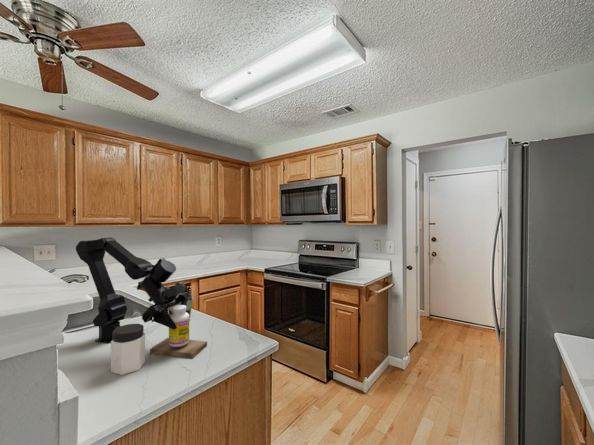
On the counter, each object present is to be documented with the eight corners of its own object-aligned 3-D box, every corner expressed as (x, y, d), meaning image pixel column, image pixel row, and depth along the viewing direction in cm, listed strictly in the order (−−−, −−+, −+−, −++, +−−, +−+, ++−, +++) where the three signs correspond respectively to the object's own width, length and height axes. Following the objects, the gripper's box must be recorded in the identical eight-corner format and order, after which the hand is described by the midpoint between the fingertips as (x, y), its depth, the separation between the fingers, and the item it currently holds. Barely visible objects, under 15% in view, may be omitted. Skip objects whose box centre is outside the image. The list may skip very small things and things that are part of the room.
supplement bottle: (178, 349, 92) (178, 311, 91) (164, 345, 95) (164, 308, 94) (193, 341, 98) (193, 305, 97) (180, 337, 101) (179, 302, 100)
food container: (197, 313, 133) (197, 292, 133) (192, 317, 127) (192, 296, 126) (171, 313, 132) (171, 292, 132) (165, 318, 126) (165, 296, 126)
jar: (105, 371, 82) (105, 331, 82) (130, 358, 90) (130, 321, 90) (126, 377, 79) (126, 336, 79) (150, 363, 86) (150, 325, 86)
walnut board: (150, 353, 93) (150, 349, 93) (167, 341, 102) (167, 337, 102) (193, 358, 90) (193, 353, 90) (207, 345, 99) (207, 341, 99)
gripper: (149, 281, 88) (178, 320, 85) (187, 271, 106) (212, 302, 103) (129, 303, 90) (157, 341, 87) (169, 289, 108) (193, 320, 105)
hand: (182, 324), depth 96 cm, fingers closed on supplement bottle, 7 cm apart
